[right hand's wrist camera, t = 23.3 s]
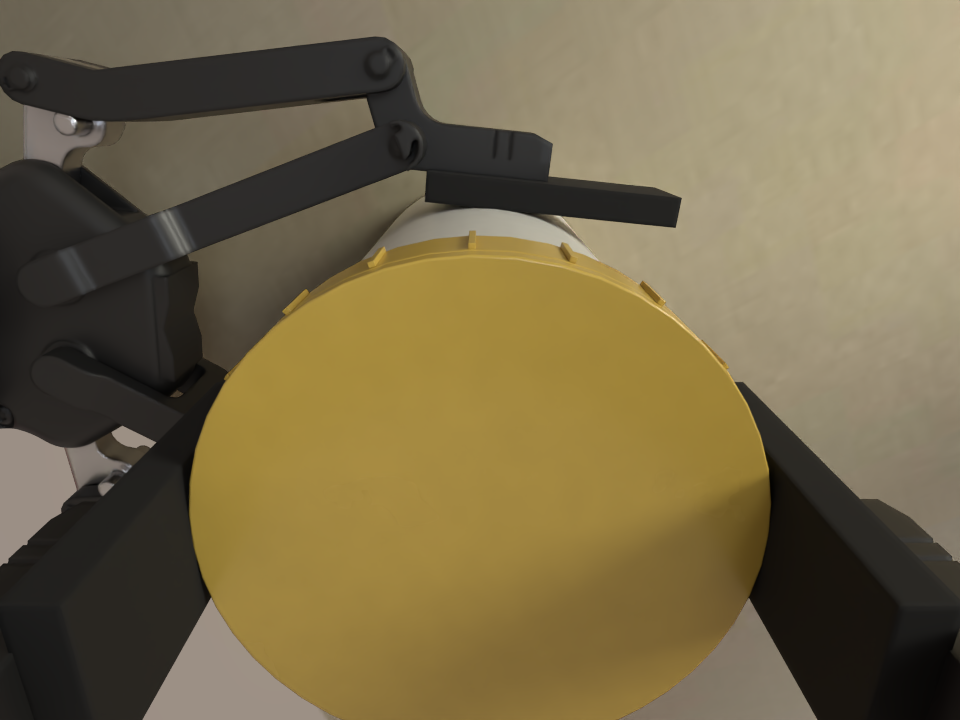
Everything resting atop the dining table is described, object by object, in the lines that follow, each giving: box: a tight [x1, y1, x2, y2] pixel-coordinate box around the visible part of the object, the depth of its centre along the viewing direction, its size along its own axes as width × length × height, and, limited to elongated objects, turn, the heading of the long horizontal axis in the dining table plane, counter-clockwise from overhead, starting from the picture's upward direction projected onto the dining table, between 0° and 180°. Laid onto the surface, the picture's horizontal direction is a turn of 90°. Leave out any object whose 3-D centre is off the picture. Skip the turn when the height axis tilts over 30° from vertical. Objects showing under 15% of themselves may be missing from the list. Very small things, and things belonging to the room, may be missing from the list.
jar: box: [361, 196, 599, 261], centre depth 18 cm, size 9×9×15 cm
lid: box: [189, 230, 771, 720], centre depth 11 cm, size 9×9×2 cm
